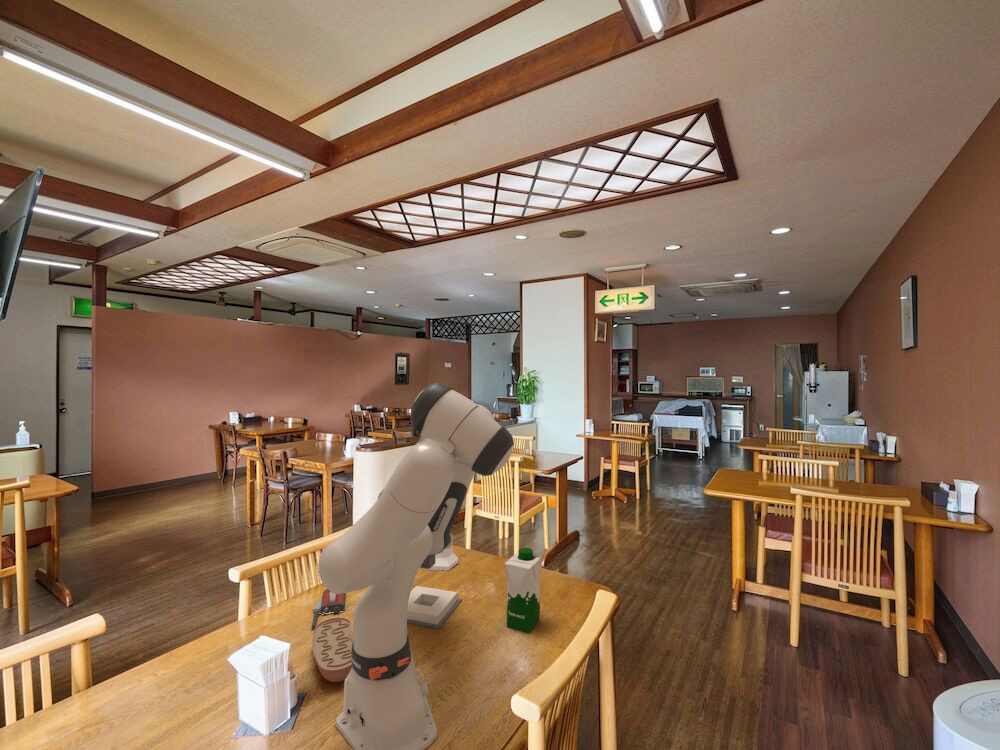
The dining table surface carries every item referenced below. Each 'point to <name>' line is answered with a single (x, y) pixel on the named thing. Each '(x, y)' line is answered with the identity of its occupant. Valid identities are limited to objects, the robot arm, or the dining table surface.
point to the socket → (431, 606)
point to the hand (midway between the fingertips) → (427, 546)
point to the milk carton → (523, 590)
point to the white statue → (445, 560)
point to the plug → (428, 562)
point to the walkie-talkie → (328, 604)
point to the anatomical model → (333, 648)
